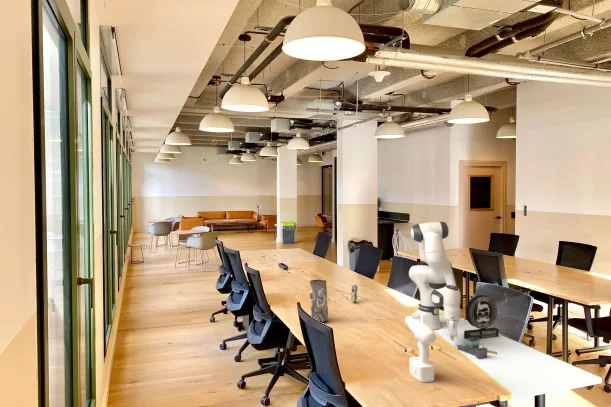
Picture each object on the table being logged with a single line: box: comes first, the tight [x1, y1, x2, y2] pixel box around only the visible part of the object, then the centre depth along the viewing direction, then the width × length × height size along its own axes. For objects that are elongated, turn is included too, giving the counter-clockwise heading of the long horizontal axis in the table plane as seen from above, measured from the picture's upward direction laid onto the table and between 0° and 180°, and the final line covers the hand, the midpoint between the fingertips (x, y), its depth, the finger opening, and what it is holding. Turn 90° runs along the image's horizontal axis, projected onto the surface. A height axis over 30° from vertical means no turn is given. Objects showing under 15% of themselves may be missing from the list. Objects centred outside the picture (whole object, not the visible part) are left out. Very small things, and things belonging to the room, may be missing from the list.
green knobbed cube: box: [465, 338, 480, 349], centre depth 248 cm, size 5×5×5 cm
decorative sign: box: [463, 294, 500, 340], centre depth 265 cm, size 22×3×25 cm, turn 105°
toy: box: [336, 284, 367, 303], centre depth 354 cm, size 10×26×15 cm, turn 104°
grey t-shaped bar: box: [457, 344, 488, 360], centre depth 239 cm, size 16×6×6 cm, turn 29°
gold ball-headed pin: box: [487, 349, 498, 355], centre depth 240 cm, size 7×2×1 cm, turn 54°
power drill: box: [404, 316, 437, 383], centre depth 212 cm, size 8×24×25 cm, turn 13°
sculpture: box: [309, 279, 329, 323], centre depth 301 cm, size 12×12×28 cm
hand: (452, 339), depth 251 cm, fingers closed
